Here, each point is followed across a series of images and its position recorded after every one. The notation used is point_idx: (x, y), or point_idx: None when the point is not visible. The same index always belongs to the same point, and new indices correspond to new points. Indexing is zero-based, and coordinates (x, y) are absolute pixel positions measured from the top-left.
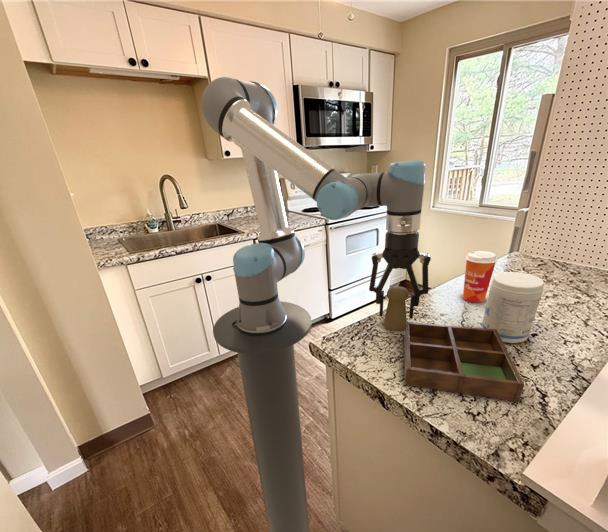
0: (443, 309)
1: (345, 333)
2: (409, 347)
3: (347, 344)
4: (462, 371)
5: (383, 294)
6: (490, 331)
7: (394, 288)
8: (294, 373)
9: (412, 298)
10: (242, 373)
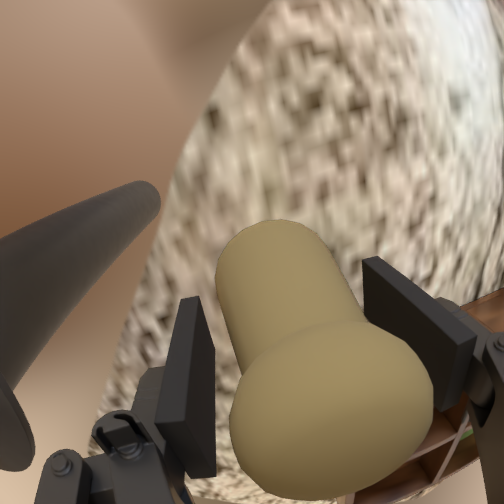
0: (451, 48)
1: (108, 407)
2: None
3: None
4: (439, 477)
5: (213, 474)
6: None
7: (319, 489)
8: (39, 298)
9: (437, 397)
10: None
